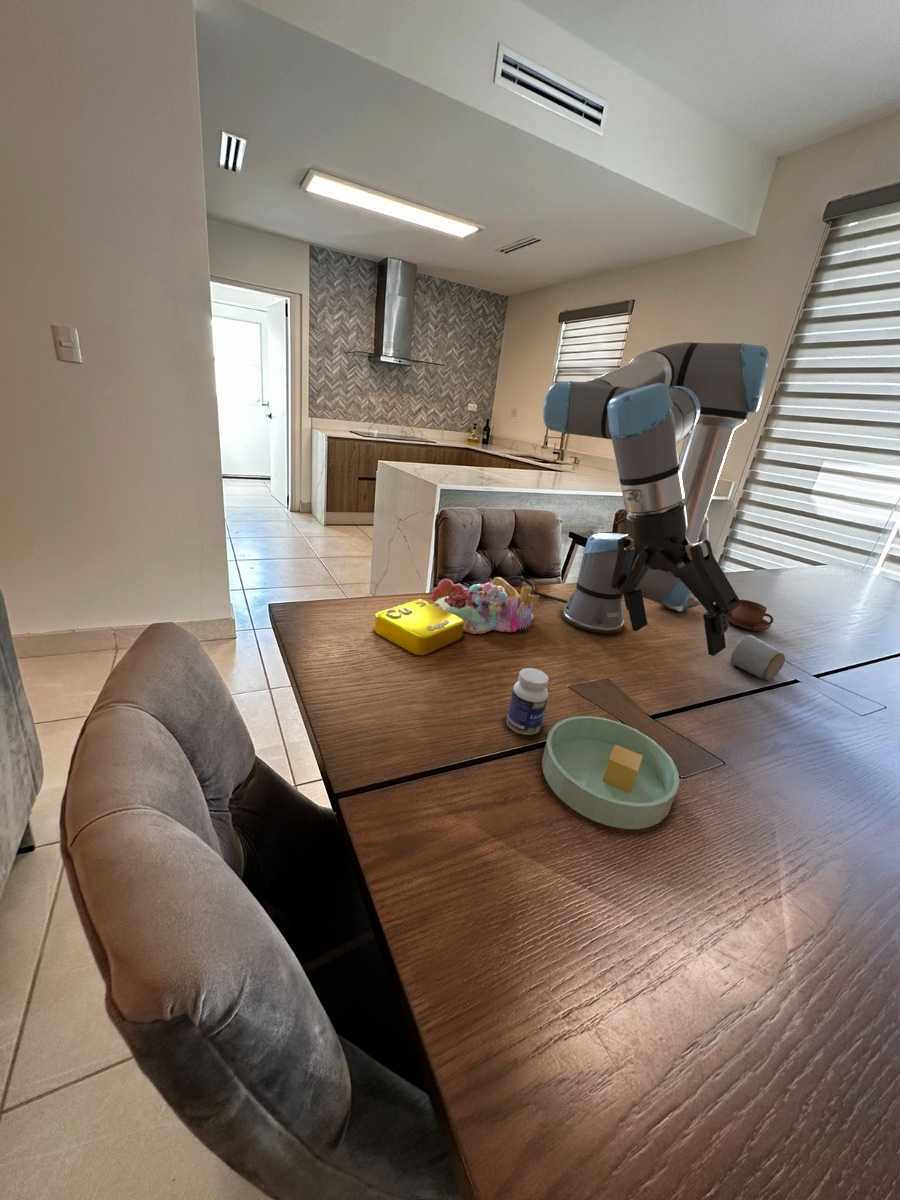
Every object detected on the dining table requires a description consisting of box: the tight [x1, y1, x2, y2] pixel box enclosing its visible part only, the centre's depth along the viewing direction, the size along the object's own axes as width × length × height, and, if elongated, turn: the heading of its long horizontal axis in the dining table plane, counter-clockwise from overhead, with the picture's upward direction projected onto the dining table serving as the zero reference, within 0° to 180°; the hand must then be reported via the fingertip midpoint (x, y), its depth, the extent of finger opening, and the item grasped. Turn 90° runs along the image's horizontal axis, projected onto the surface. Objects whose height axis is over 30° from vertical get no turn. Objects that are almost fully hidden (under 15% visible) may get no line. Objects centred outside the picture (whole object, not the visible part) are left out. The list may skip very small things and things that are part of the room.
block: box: [602, 744, 643, 793], centre depth 68 cm, size 4×4×4 cm
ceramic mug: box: [730, 634, 786, 681], centre depth 105 cm, size 11×8×8 cm
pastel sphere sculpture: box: [430, 576, 540, 635], centre depth 117 cm, size 25×24×9 cm
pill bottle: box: [506, 667, 550, 736], centre depth 77 cm, size 6×6×10 cm
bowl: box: [541, 715, 680, 830], centre depth 68 cm, size 18×18×4 cm
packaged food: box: [654, 594, 702, 613], centre depth 138 cm, size 9×12×5 cm
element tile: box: [374, 599, 464, 656], centre depth 104 cm, size 15×15×5 cm
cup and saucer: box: [727, 599, 774, 632], centre depth 131 cm, size 12×12×6 cm
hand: (675, 638), depth 72 cm, fingers open, 13 cm apart
